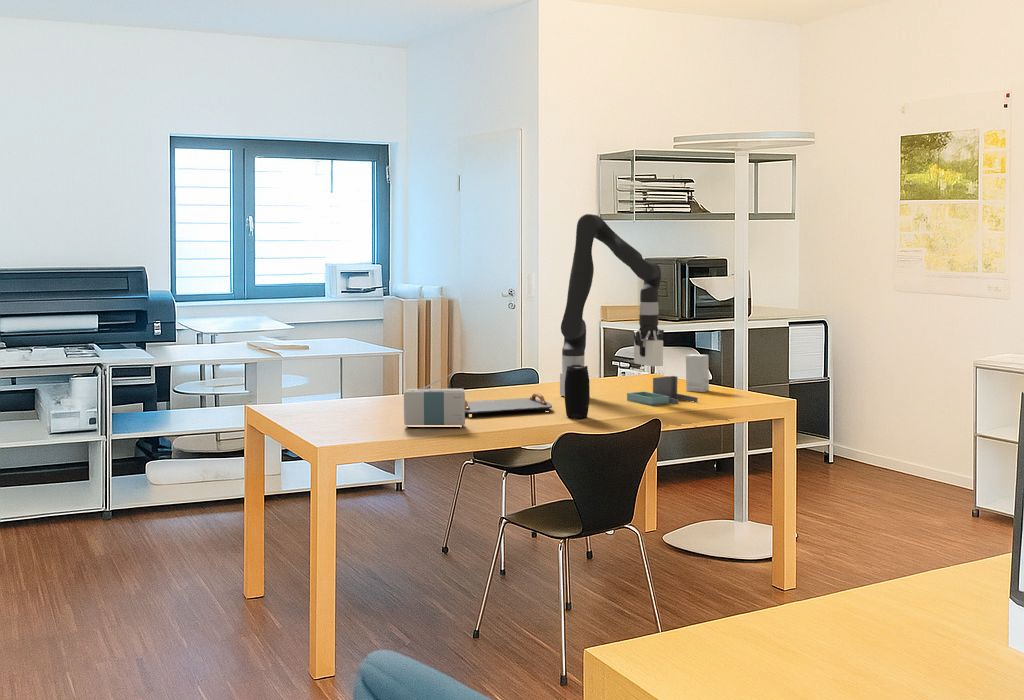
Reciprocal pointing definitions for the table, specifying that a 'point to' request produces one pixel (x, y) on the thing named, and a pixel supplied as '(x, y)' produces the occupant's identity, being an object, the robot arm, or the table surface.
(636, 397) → the tray
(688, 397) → the bay
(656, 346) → the light grey block
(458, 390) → the stereo radio cassette player
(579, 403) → the portable speaker
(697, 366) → the skincare box
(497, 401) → the serving board
